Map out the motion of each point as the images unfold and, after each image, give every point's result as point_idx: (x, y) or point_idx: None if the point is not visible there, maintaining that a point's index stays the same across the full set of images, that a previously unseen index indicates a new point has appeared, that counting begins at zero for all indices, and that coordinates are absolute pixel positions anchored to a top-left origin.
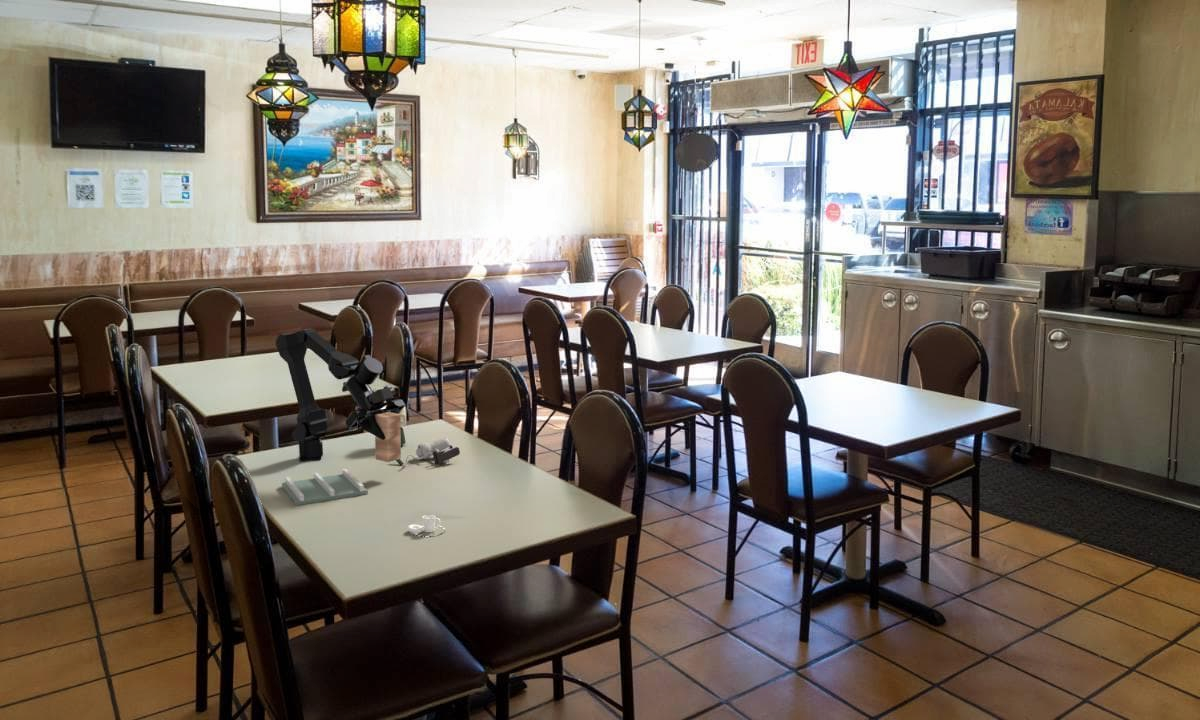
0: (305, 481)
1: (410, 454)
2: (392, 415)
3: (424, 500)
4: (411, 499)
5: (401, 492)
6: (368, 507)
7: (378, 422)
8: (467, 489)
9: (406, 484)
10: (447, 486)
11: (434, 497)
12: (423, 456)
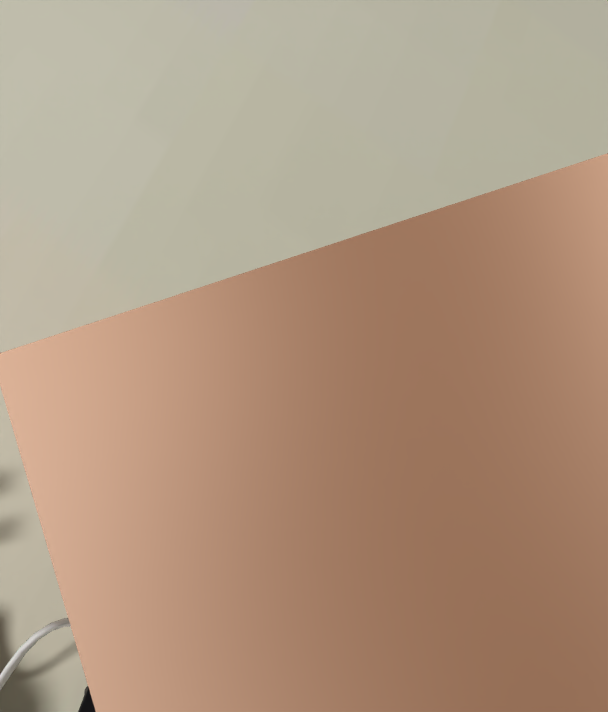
0: None
1: (29, 640)
2: (374, 354)
3: (293, 6)
4: (339, 54)
5: (338, 173)
6: (544, 79)
7: None
8: (26, 11)
9: None
10: (88, 114)
11: (233, 13)
12: None
